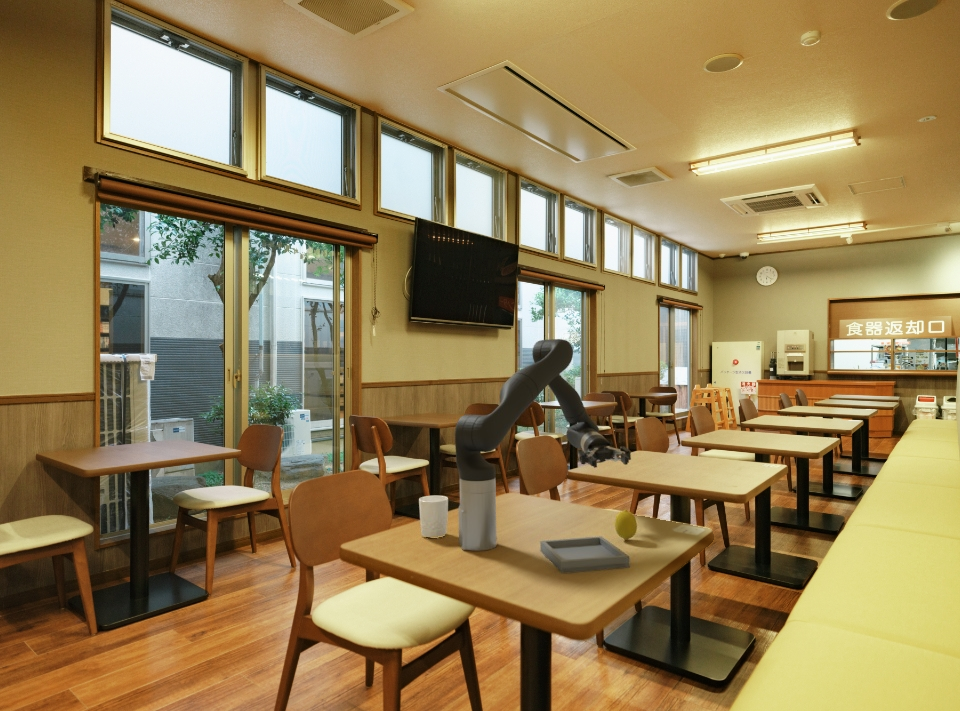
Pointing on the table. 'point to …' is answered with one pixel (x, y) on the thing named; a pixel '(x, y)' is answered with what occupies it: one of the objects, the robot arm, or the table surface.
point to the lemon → (625, 524)
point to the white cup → (433, 515)
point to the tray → (584, 554)
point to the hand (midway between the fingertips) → (611, 462)
